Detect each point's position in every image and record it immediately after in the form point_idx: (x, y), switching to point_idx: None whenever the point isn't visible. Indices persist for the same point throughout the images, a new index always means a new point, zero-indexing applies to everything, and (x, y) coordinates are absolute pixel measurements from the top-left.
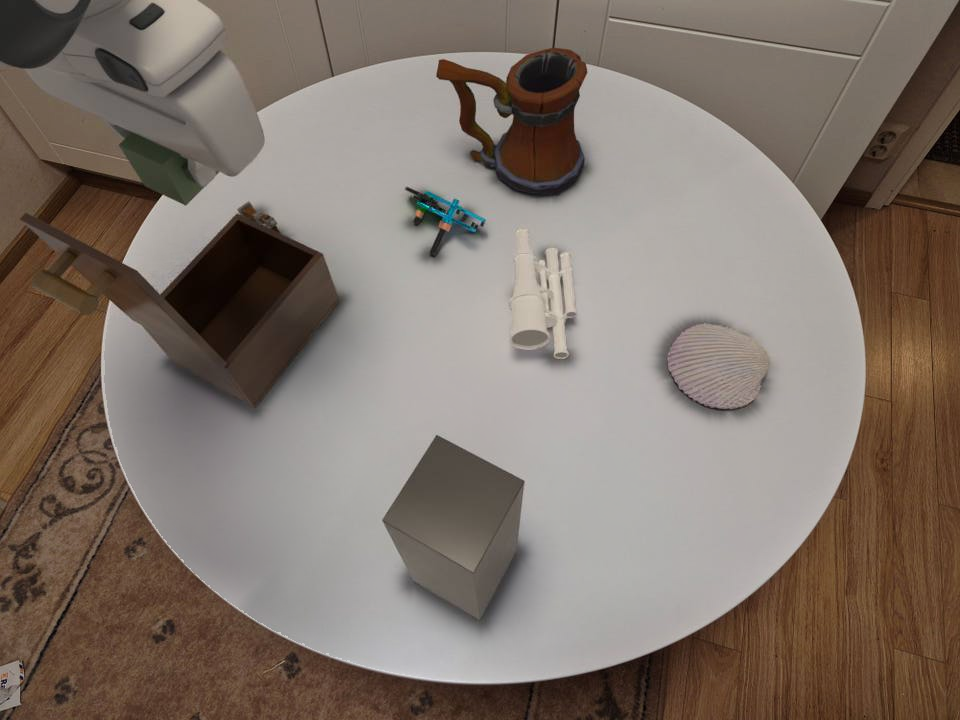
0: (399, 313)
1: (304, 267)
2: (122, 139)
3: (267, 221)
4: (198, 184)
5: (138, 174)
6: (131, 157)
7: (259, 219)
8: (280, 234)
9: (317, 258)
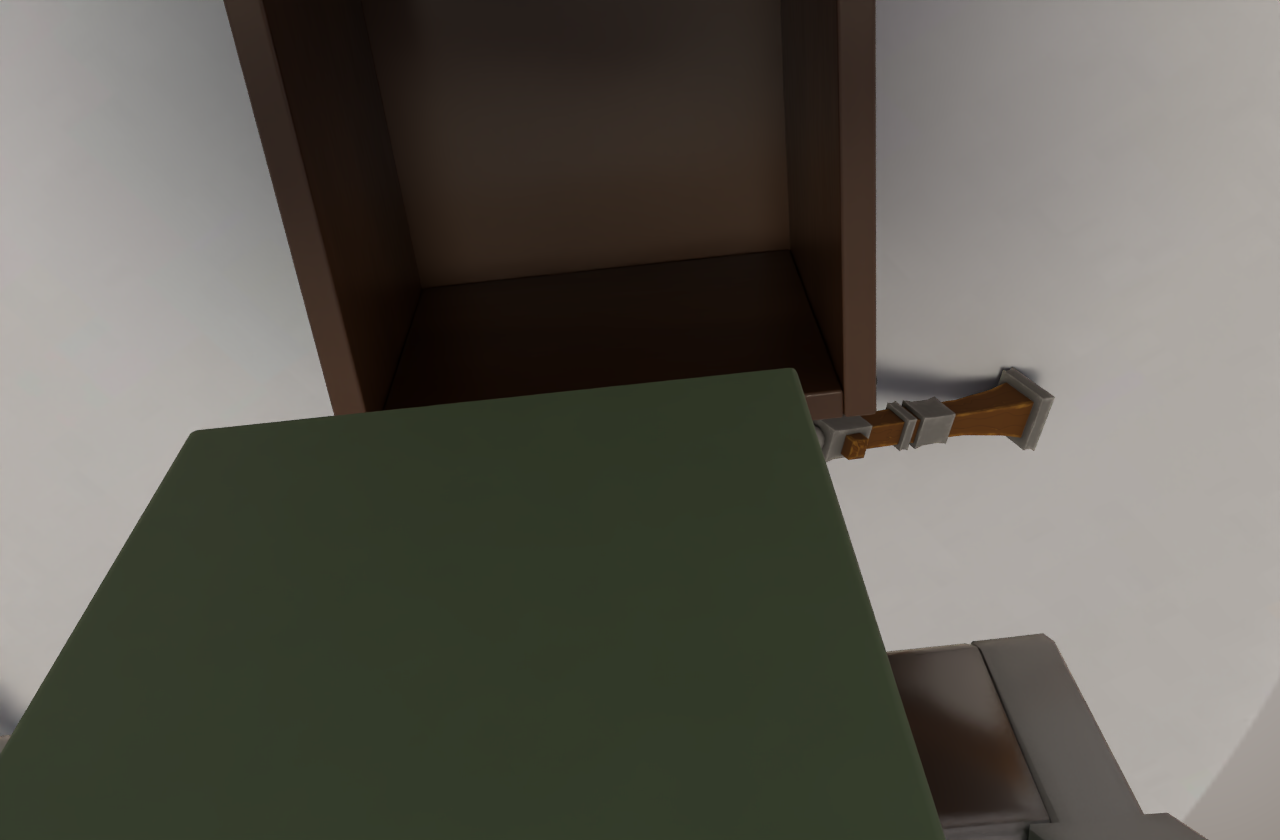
0: (183, 386)
1: (354, 368)
2: (1179, 821)
3: (832, 433)
4: (2, 748)
5: (790, 475)
6: (729, 728)
7: (903, 416)
8: None
9: None
